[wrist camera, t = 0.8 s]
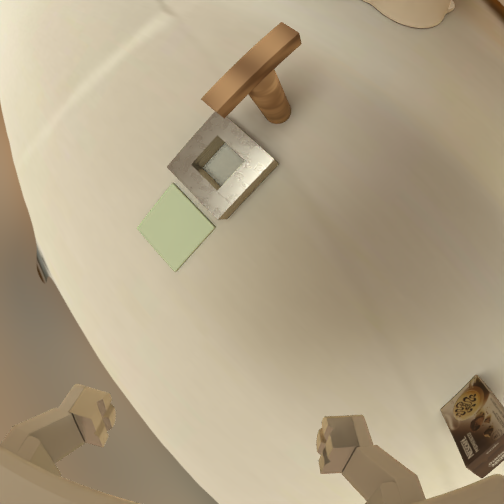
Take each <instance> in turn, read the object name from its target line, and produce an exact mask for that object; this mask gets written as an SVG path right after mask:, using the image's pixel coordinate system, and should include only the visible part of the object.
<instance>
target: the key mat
mask: <svg viewBox="0 0 504 504" xmlns="http://www.w3.org/2000/svg"><path fill="white" fill-rule="evenodd" d="M215 228H216V227H215V226H214V225H213V224H212V223H211V222H210V221H209V220H208V218H207V217H206V216H205V215H204V214H203V213H202V212H201V211H200V210H199V209H198V208H197V207H196V206H195V205H194V204H193V203H192V202H191V201H190V200H189V199H188V197H187V196H186V195H185V194H184V193H183V192H182V191H181V190H180V189H179V188H178V187H177V186H176V185H175V184H174V183H172V184H171V185H170V187H169V188H168V189H167V190H166V191H165V193H164V194H163V195H162V196H161V198H160V199H159V200H158V201H157V203H156V204H155V205H154V207H153V208H152V209H151V210H150V212H149V213H148V214H147V216H146V217H145V218H144V220H143V221H142V222H141V223H140V225H139V226H138V227H137V229H138V230H139V232H140V233H141V234H142V235H143V236H144V237H145V239H146V240H147V241H148V242H149V243H150V245H151V246H152V247H153V248H154V249H155V250H156V251H157V253H158V254H159V255H160V256H161V257H162V258H163V259H164V261H165V262H166V263H167V264H168V265H169V266H170V267H171V269H172V270H173V271H174V272H176V271H177V270H178V269H179V268H180V267H181V266H182V264H183V263H184V262H185V261H186V260H187V259H188V258H189V257H190V255H191V254H192V253H193V252H194V251H195V250H196V249H197V248H198V246H199V245H200V244H201V243H202V242H203V241H204V240H205V239H206V238H207V237H208V235H209V234H210V233H211V232H212V231H213V230H214V229H215Z"/></svg>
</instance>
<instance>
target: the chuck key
mask: <svg viewBox="0 0 504 504" xmlns="http://www.w3.org/2000/svg"><path fill="white" fill-rule="evenodd" d="M300 45H301V39H300V35H299V33H298V32H297V31H295V30H294V29H292V28H290V27H289V26H287V25H286V24H284V23H282V22H281V23H280V24H279V25H277V26H276V27H275V28H274V29H273V30H272V31H270V32H269V33H268V34H267V35H266V36H265V37H264V38H263V39H261V40H260V41H259V42H258V43H257V44H256V45H255V46H254V47H253V48H251V49H250V50H249V51H248V52H247V53H246V54H245V55H244V56H243V57H242V58H241V59H240V60H239V61H238V62H237V63H236V64H235V65H234V66H233V67H232V68H231V69H230V70H229V71H228V72H227V73H226V74H225V75H224V76H223V77H222V78H221V79H220V80H219V81H218V82H217V83H216V84H215V85H214V86H213V87H212V88H211V89H210V90H209V91H208V92H207V93H206V94H205V95H204V96H203V97H202V99H201V100H203V101H204V102H205V103H206V104H207V105H208V106H210V107H211V108H212V109H213V110H214V111H216V112H217V113H218V114H219V115H220V116H222V117H223V118H224V119H225V117H226V116H227V115H228V114H229V113H230V112H231V111H232V110H233V109H234V108H235V107H236V106H237V105H238V104H239V103H240V102H241V101H242V100H243V99H244V98H245V97H246V96H247V95H248V94H249V96H250V97H251V98H252V100H253V101H254V102H255V104H256V105H257V106H258V108H259V109H260V110H261V112H262V113H263V115H264V116H265V117H266V119H267V120H268V121H269V122H271V123H274V124H280V123H283V122H285V121H286V120H287V119H288V118H289V117H290V114H291V108H290V105H289V103H288V100H287V98H286V96H285V93H284V91H283V88H282V86H281V84H280V81H279V79H278V77H277V75H276V72H275V70H274V68H276V67H277V66H278V65H279V64H280V63H281V62H282V61H283V60H284V59H285V58H286V57H287V56H289V55H290V54H291V53H292V52H293V51H294V50H295V49H296V48H297V47H299V46H300Z"/></svg>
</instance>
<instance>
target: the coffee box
mask: <svg viewBox="0 0 504 504" xmlns="http://www.w3.org/2000/svg"><path fill="white" fill-rule="evenodd" d="M441 412H442V414H443V416H444V419H445V421H446V423H447V425H448V427H449V429H450V431H451V434H452V436H453V438H454V440H455V442H456V445H457V447H458V449H459V452H460V454H461V456H462V459H463V461H464V464H465V466H466V468H468V469H469V470H470V471H472V472H473V473H474V474H476V475H478V476H479V477H480V478H483V477H485V476H486V475H487V474H488V473H490V472H491V471H492V470H493V469H494V468H496V467H497V466H498V465H499V464H500V463H501V462H502V461H504V407H503V406H502V404H501V403H500V402H499V400H498V399H497V398H496V396H495V395H494V394H493V392H492V391H491V390H490V389H489V387H488V386H487V385H486V384H485V383H484V382H483V381H482V380H481V378H480V377H479V376H478V375H475V376H474V377H473V378H472V379H471V380H470V382H469V383H468V384H467V385H466V386H465V387H464V388H463V389H462V390H461V391H460V392H459V393H458V394H457V395H456V396H455V397H454V398H453V399H451V400H450V401H449V402H448V403H447V404H446V405H445V406H444V407H443V408H442V409H441Z"/></svg>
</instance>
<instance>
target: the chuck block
mask: <svg viewBox="0 0 504 504" xmlns="http://www.w3.org/2000/svg"><path fill="white" fill-rule="evenodd" d="M224 143H226V144H227V145H229V146H230V147H231V148H232V149H233V150H234V151H235V152H236V153H237V154H238V155H239V156H240V157H242V158H243V159H244V160H245V161H244V162H243V164H242V165H241V166H240V167H239V168H238V169H237V170H236V171H235V172H234V173H233V174H232V175H231V176H230V178H229V179H228V180H227V181H226V182H225V183H224V184H223V185H222V186H220V185H219V184H218V183H217V182H216V181H215V180H214V179H213V178H212V177H211V176H210V175H209V174H208V173H207V172H206V171H205V170H204V169H202V168H203V166H204V165H205V164H206V163H207V162H208V161H209V160H210V159H211V157H212V156H213V155H214V154H215V153H216V152H217V151H218V150H219V149H220V148H221V146H222V145H223V144H224ZM278 165H279V163H278V162H276V161H275V160H274V159H273V158H272V157H271V156H270V155H269V154H268V153H267V152H266V151H265V150H263V149H262V148H261V147H260V146H259V145H258V144H257V143H256V142H255V141H254V140H252V139H251V138H250V137H249V136H248V135H247V134H246V133H245V132H243V131H242V130H241V129H240V128H239V127H238V126H237V125H236V124H234V123H233V122H232V121H231V120H230V119H229V118H227V117H225V119H224V118H223V117H222V116H220V115H219V114H218V113H217V112H216V111H215V113H214V114H213V115H212V116H211V117H210V118H209V119H208V120H207V121H206V122H205V123H204V125H203V126H202V127H201V128H200V129H199V130H198V131H197V132H196V133H195V135H194V136H193V137H192V138H191V139H190V140H189V141H188V143H187V144H186V145H185V146H184V147H183V148H182V150H181V151H180V152H179V153H178V154H177V156H176V157H175V158H174V159H173V160H172V162H171V163H170V164H169V165H168V166H167V168H168V169H169V170H170V171H171V172H172V173H173V174H174V175H175V176H176V177H177V178H178V179H179V180H180V181H181V182H182V183H183V184H184V185H185V186H186V187H187V188H188V190H189V191H190V192H191V193H192V194H193V195H194V196H195V197H196V198H197V199H198V200H199V201H200V202H201V203H202V204H203V205H204V206H205V207H206V208H207V209H208V210H209V211H210V212H211V213H212V214H213V216H214V217H215V218H216V219H217V220H221V219H227V218H228V217H229V216H230V215H231V214H232V213H233V212H234V211H235V210H236V209H237V208H238V207H239V205H240V204H241V203H242V202H243V201H244V200H245V199H246V198H247V197H248V196H249V195H250V194H251V193H252V192H253V191H254V190H255V189H256V188H257V186H258V185H259V184H260V183H261V182H262V181H263V180H264V179H265V178H266V177H267V176H268V175H269V174H270V173H271V172H272V171H273V170H274V169H275V168H276V167H277V166H278Z"/></svg>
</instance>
